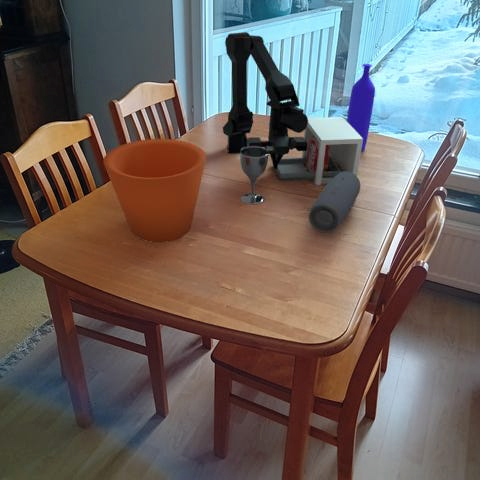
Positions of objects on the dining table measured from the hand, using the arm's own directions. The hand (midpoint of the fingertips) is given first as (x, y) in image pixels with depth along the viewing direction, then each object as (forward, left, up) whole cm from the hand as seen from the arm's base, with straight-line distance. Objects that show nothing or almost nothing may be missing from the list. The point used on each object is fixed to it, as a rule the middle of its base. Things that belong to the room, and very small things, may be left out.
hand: (274, 168), depth 157 cm
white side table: (+18, 0, -2) cm, 18 cm away
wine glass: (-10, -17, -2) cm, 20 cm away
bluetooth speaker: (+11, -30, -2) cm, 32 cm away
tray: (+11, 0, -2) cm, 11 cm away
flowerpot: (-37, -30, -2) cm, 48 cm away
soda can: (+14, -1, -2) cm, 14 cm away
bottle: (+34, +19, -2) cm, 39 cm away
